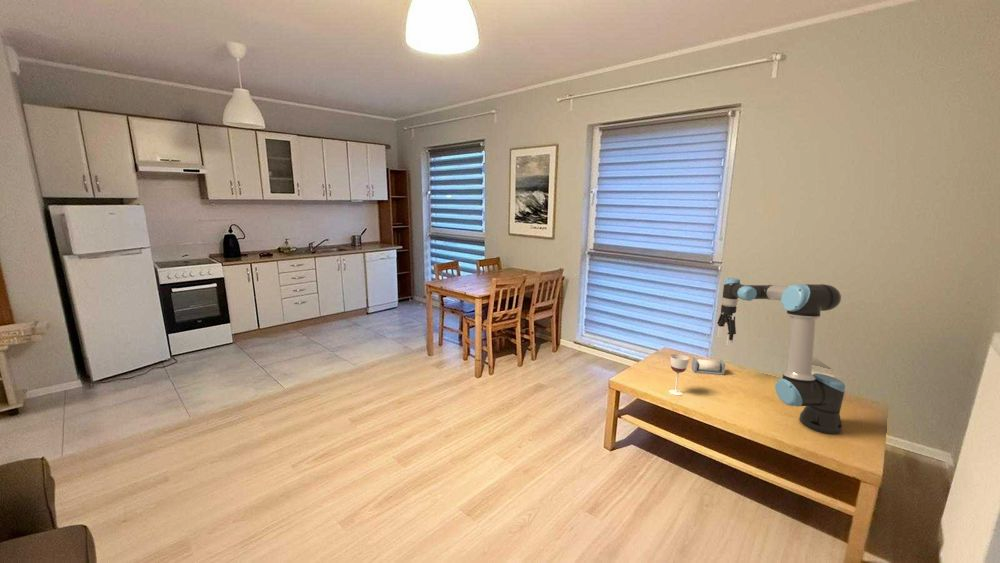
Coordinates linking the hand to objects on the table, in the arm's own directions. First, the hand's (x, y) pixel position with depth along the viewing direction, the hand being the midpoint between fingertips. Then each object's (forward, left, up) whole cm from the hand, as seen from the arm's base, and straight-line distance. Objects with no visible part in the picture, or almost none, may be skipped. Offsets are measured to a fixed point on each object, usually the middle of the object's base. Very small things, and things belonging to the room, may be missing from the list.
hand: (724, 341), depth 227 cm
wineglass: (-30, +31, -21) cm, 48 cm away
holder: (+2, +6, -21) cm, 21 cm away
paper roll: (+1, +6, -19) cm, 20 cm away
